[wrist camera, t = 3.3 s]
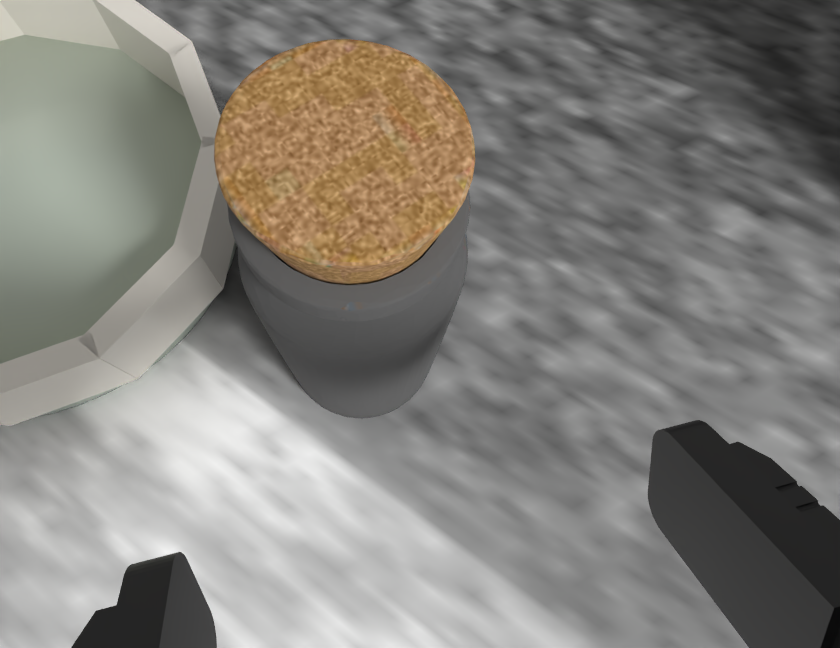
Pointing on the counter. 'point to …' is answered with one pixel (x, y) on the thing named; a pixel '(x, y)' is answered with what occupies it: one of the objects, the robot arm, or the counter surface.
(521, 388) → the counter surface
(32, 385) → the dish
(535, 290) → the counter surface
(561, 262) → the counter surface
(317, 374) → the bottle
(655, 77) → the counter surface
